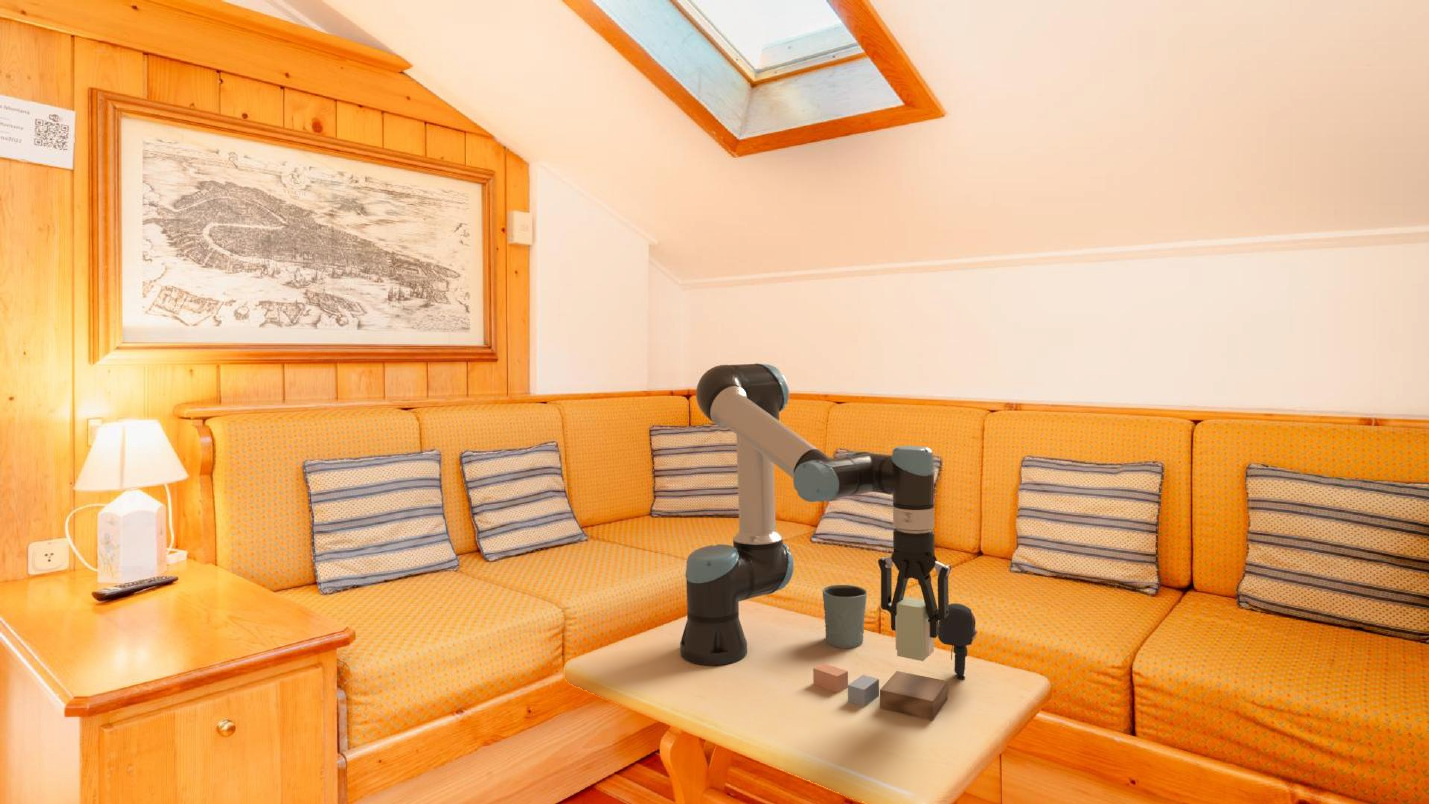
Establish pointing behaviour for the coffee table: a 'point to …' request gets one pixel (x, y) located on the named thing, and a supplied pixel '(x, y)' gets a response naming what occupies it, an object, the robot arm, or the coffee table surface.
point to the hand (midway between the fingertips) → (914, 650)
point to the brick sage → (911, 628)
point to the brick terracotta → (830, 677)
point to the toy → (958, 634)
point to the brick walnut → (914, 695)
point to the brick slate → (863, 690)
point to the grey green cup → (844, 615)
